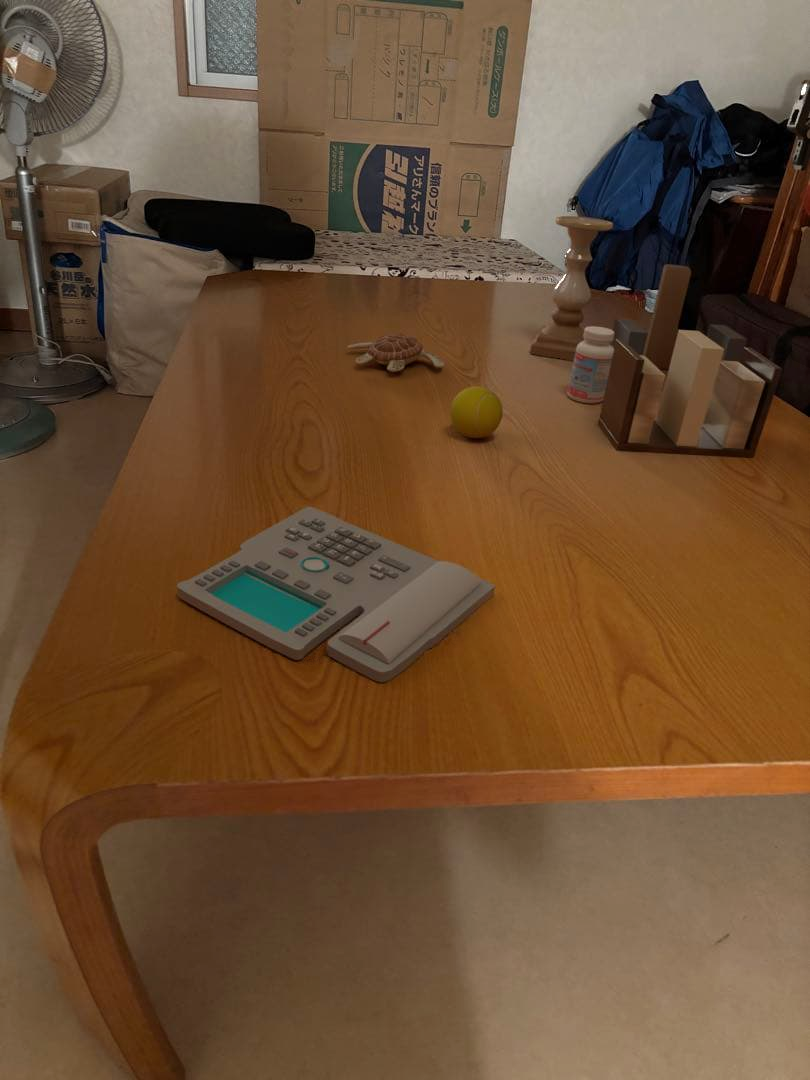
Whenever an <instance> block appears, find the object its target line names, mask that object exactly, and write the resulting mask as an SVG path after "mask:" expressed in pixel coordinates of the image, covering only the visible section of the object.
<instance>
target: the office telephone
mask: <svg viewBox="0 0 810 1080" xmlns="http://www.w3.org/2000/svg"><path fill="white" fill-rule="evenodd" d="M176 585H177V586H176V588H177V597H178V598H179V599H180V600H182V601H184V602H186V603H187V604H189V605H191V606H192V607H195V608H196V609H198V610H200V611H201V612H203V613H205V614H208V615H209V616H210V617H212V618H214V619H215V620H218V621H219V622H221V623H223V624H225V625H227V626H229V627H230V628H233V629H234V630H235V631H238V632H240V633H241V634H244V635H246V636H247V637H249V638H251V639H253V640H255V641H257V642H258V643H260V644H262V645H264V646H266V647H267V648H269V649H271V650H273V651H275V652H277V653H279V654H282V655H284V656H286V657H288V658H289V659H291V660H295V661H300V660H303V659H304V658H305V656H306V655H308V653H309V652H311V651H312V650H313V649H315V648H316V647H317V646H319V645H320V644H321V643H322V642H324V641H325V640H326V639H328V638H329V637H331V636H332V635H333V634H335V633H336V632H337V631H339V630H340V629H341V628H342V627H344V626H345V625H347V624H348V623H349V624H348V625H347V626H345V627H344V628H342V629H341V630H340V631H339V632H338V633H336V634H335V635H334V636H332V637H331V638H330V639H329V640H328V641H327V645H326V654H327V656H329V658H332V659H333V660H335V661H337V662H338V663H340V664H341V665H344V666H346V667H347V668H350V669H352V670H353V671H356V672H357V673H359V674H361V675H363V676H365V677H367V678H368V679H370V680H373V681H375V682H378V683H385V682H389V681H391V680H393V679H394V678H395V677H396V676H398V675H399V674H400V673H402V672H404V671H405V669H407V668H408V667H409V666H411V665H412V664H413V663H415V662H416V661H417V660H418V659H419V658H420V657H422V655H423V654H424V653H426V651H428V650H429V649H430V650H431V649H432V648H434V646H436V645H437V644H438V643H439V642H441V641H442V640H443V639H445V637H446V636H447V635H449V634H450V633H451V632H453V631H454V630H455V628H457V627H458V626H459V625H460V624H462V623H463V622H464V621H465V620H466V619H467V618H469V617H470V616H471V615H472V614H473V613H474V612H475V611H477V610H479V608H480V607H481V606H482V605H484V604H485V603H486V602H488V600H490V599H491V598H492V597H494V595H495V589H496V585H495V584H494V583H492V582H490V581H488V580H485V579H483V578H481V577H478V576H477V575H476V574H475V572H473V571H471V570H470V569H468V568H466V567H465V566H463V565H460V564H457V563H454V562H451V561H447V560H437V559H436V558H433V557H430V556H428V555H425V554H423V553H421V552H418V551H417V550H414V549H411V548H409V547H406V546H404V545H402V544H399V543H397V542H395V541H392V540H390V539H387V538H386V537H382V536H381V535H378V534H375V533H373V532H371V531H369V530H366V529H363V528H361V527H359V526H356V525H354V524H351V523H350V522H347V521H344V520H342V519H340V518H338V517H337V516H335V515H332V514H329V513H328V512H326V511H323V510H321V509H318V508H316V507H313V506H311V505H310V506H306V507H304V508H302V509H300V510H299V511H297V512H295V513H293V514H291V515H289V516H288V517H286V518H284V519H282V520H281V521H279V522H277V523H274V524H273V525H271V526H270V527H268V528H266V529H265V530H262V531H261V532H259V533H257V534H255V535H254V536H252V537H249V538H248V539H247V540H245V541H244V542H242V543H241V544H240V546H239V550H238V551H237V552H236V553H234V554H233V555H230V556H229V557H227V558H225V559H224V560H221V561H220V562H219V563H216V564H215V565H213V566H211V567H209V568H208V569H206V570H205V571H202V572H200V573H199V574H197V575H194V576H193V577H191V578H188V579H187V580H183V581H179V582H178V583H177V584H176ZM350 621H352V622H350Z"/></svg>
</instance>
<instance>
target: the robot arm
mask: <svg viewBox="0 0 810 1080" xmlns="http://www.w3.org/2000/svg"><path fill="white" fill-rule="evenodd" d="M793 104H794V105H793V107H792V111H791V112H790V116H789V119H788V121H787V125H786V130H787V131H788V132H791V133H793V134H795V135H796V136H797V142H796V144H795V145H796V146H795V149H794V152H793V155H792V159H791V163H792V165H793V169H794V170H796V171H801V172H802V171H803V172H804V171H806V170H807V168H808V165H809V163H810V119H809V117H810V79H805V80H803V81H801V84H800V87H799V89H798V93H797V95H796V97H795V101H794V103H793ZM808 119H809V120H808Z"/></svg>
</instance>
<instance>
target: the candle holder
mask: <svg viewBox="0 0 810 1080" xmlns="http://www.w3.org/2000/svg"><path fill="white" fill-rule="evenodd" d="M555 223H556V225H558V226H561V227H564V228H566V229H567V235H568V237H569V240H570V245H569V248H568V250H567V251H566V252H565V253H564V255H563V259H565V264H566V270H565V273H563V276H562V277H561V278H560V280H559V281H558V282H557V283H556V284H555V286H554V287H553V289H552V291H551V300H552V302H553V303H554V305H556V307H555V308H554V309H553V310H552V312H551V315H550V316H551V319H552V320H553V322H551V323H549V324H547V325H543V326H542V327H541V329H540V330H539V332H537V334H536V336H535V338H534V339H533V340H532V342H531V345H530V350H529V354H530V355H533V354H535V355H534V356H538V355H541V356H540V357H545V356H547V357H546V358H551V357H553V358H552V359H557V358H560V359H559V360H564V359H565V360H564V361H571V362H574V357H575V352H576V348H577V345H578V344H579V343H580V342H582V341H584V338H583V337H584V336H583V334H584V330H585V329H584V328H583V327H581V326H580V324H582V322H583V321H584V319H585V315H584V312H583V311H582V309H584V308H586V307H587V306H588V305H589V304H590V302H591V299H592V293H591V289H590V287H589V284H588V281H587V279H586V278H587V277H586V269H587V267H588V266H589V265H590V262H592V261H593V257H592V254H591V250H590V248H591V244H592V242H593V241H594V240H595V239H596V238H597V237H598V235H599V232H606V231H611V230H612V229H613V227H614V223H613V222H612V221H608V220H605V219H599V218H595V217H594V218H593V217H587V216H575V215H574V216H573V215H561V216H557V217H556V218H555Z"/></svg>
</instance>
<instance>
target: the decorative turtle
mask: <svg viewBox="0 0 810 1080" xmlns="http://www.w3.org/2000/svg"><path fill="white" fill-rule="evenodd" d="M423 347H424V346H423V344H422V343H420V342H419V339H418V338H416V336H415V337H414V336H410V335H408V334H404V333H401V332H399V333H397V332H396V333H389V334H384V335H382V336H380V337H379V338H378V339H376V340H374V341H365V342H359V343H354V344H349V345H348V346H346V348H347V349H348V350H351V351H352V350H361V349H367V350H366V353H364V354H362V355H359V356H358V357H357V358H356V359H355V364H357V365H359V366H361V365H363V364H367V363H368V362H370V361H375V362H377V363H379V364H380V365H384V366H387V368H386V369H387V371H388V372H391V373H394V372H400V371H402V370H404V368H405V367H406V365H408V364H411V363H412V362H415V361H417V360H418V359H419V358H421V357H423V358H425V359H427V360H428V361H430V363H432V364H433V366H434V368H435V369H440V368H443V367H444V366H445V361H444V360H443V359H442V357H441V356H439V355H437V354H434V353H433V352H431V351H428V350H426V349H424V348H423Z"/></svg>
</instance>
